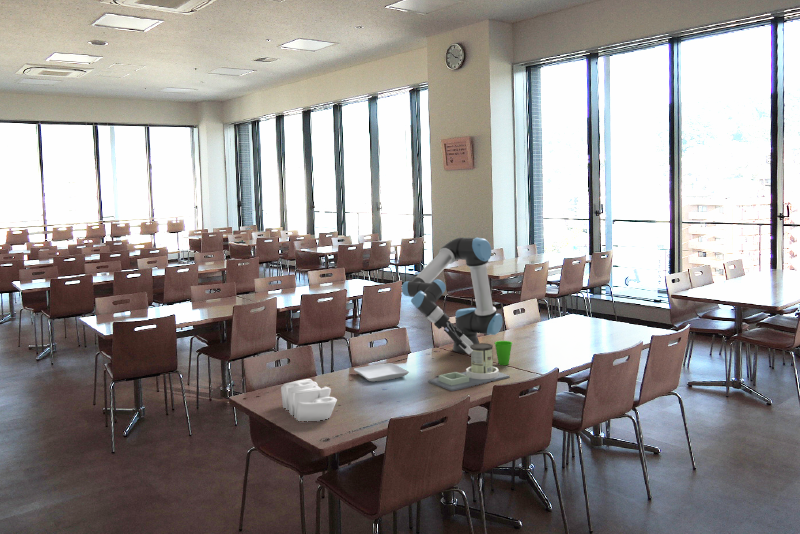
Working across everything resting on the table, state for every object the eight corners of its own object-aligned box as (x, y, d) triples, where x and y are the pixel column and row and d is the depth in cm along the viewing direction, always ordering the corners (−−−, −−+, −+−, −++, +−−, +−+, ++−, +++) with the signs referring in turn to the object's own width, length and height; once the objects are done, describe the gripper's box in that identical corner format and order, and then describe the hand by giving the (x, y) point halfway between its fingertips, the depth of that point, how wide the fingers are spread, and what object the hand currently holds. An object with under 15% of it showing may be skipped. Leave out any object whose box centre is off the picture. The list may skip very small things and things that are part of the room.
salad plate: (352, 374, 332) (352, 367, 332) (392, 368, 340) (392, 361, 340) (368, 385, 313) (368, 378, 312) (410, 378, 321) (409, 371, 321)
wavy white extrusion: (278, 402, 290) (276, 379, 289) (314, 396, 297) (313, 373, 296) (300, 428, 258) (298, 401, 257) (340, 420, 265) (339, 394, 264)
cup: (512, 366, 336) (512, 345, 334) (494, 366, 338) (493, 344, 336) (513, 361, 344) (512, 340, 343) (495, 361, 346) (494, 340, 345)
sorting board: (428, 382, 314) (428, 374, 313) (484, 369, 332) (484, 362, 331) (451, 391, 299) (451, 383, 298) (509, 377, 317) (509, 370, 316)
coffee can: (475, 370, 326) (474, 342, 325) (495, 372, 322) (495, 343, 320) (468, 376, 317) (467, 347, 315) (489, 378, 313) (488, 348, 311)
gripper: (434, 318, 331) (466, 348, 331) (431, 329, 306) (465, 361, 306) (445, 307, 330) (476, 337, 330) (442, 317, 305) (476, 350, 305)
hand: (471, 349), depth 318 cm, fingers open, 13 cm apart
